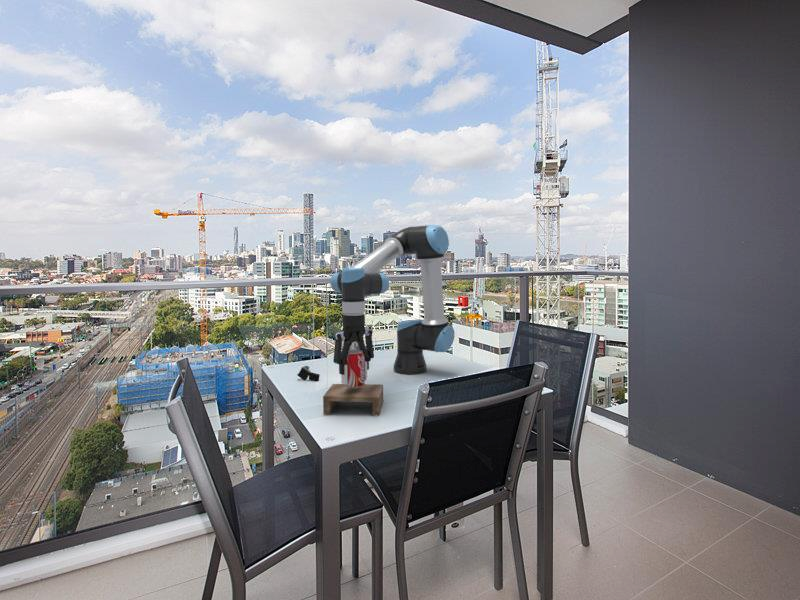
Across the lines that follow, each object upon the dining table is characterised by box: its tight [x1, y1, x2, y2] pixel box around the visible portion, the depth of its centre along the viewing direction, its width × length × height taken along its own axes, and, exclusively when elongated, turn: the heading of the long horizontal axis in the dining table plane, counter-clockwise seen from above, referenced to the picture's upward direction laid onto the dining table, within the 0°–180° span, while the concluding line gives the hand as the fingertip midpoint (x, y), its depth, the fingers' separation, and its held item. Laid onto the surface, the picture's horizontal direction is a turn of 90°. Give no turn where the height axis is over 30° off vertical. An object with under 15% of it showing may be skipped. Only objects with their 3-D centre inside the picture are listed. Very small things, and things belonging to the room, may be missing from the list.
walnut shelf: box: [322, 383, 384, 417], centre depth 137 cm, size 18×14×6 cm
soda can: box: [345, 349, 366, 388], centre depth 136 cm, size 7×7×12 cm
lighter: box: [296, 365, 321, 382], centre depth 171 cm, size 9×2×6 cm
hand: (354, 381), depth 137 cm, fingers closed on soda can, 7 cm apart
